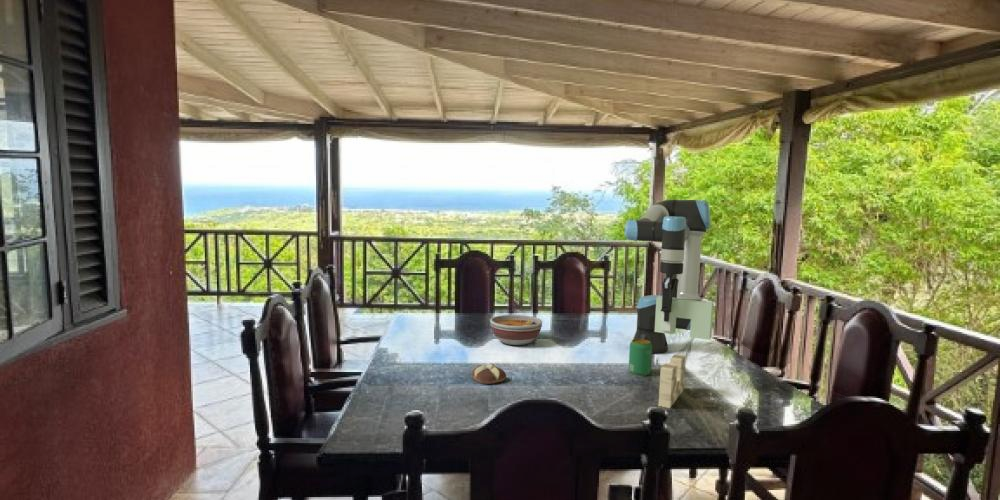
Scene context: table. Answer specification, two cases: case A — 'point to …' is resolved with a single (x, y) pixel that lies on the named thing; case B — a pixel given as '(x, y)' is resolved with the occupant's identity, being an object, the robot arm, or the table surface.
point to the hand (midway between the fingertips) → (667, 329)
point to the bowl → (515, 328)
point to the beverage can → (640, 357)
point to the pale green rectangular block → (687, 316)
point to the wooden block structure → (672, 380)
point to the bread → (488, 374)
